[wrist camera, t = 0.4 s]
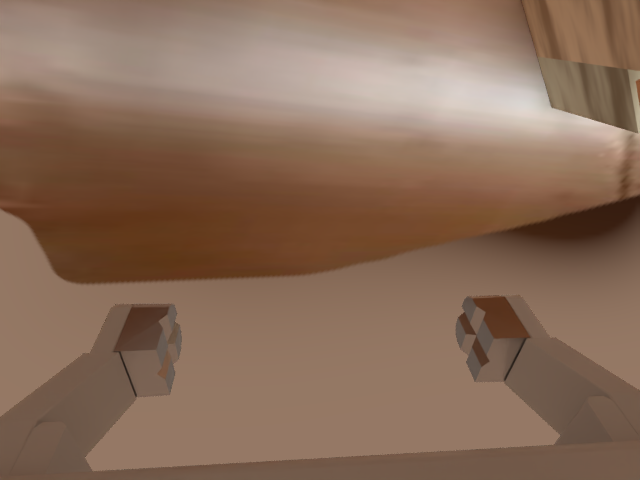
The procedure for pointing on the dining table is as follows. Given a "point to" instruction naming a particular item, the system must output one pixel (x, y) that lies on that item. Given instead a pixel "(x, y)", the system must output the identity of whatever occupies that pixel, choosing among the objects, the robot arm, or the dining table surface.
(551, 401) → the robot arm
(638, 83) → the bar
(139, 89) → the dining table surface
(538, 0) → the step stand
